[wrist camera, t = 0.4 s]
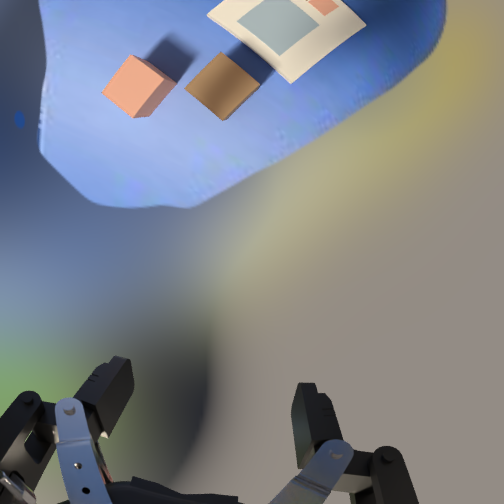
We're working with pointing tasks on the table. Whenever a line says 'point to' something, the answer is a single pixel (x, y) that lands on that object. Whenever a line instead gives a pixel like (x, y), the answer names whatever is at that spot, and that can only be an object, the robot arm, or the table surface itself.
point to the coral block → (138, 87)
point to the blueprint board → (288, 30)
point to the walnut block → (222, 86)
